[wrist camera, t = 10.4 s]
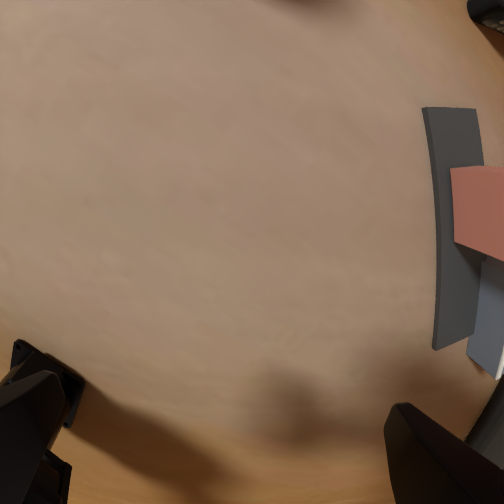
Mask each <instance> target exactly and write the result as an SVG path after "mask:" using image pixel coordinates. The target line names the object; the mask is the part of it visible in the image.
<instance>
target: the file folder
mask: <svg viewBox="0 0 504 504" xmlns="http://www.w3.org/2000/svg"><path fill="white" fill-rule="evenodd" d="M464 443H466V444H467V445H469V446H470V447H471V448H473V449H474V450H476V451H477V452H479V453H480V454H481V455H483V456H484V457H486V458H487V459H489V460H490V461H491V462H493V463H494V464H496V465H497V466H499V467H500V469H503V470H504V374H503V375H502V377H501V379H500V381H499V383H498V385H497V387H496V389H495V391H494V393H493V395H492V397H491V398H490V400H489V402H488V404H487V406H486V407H485V409H484V411H483V412H482V414H481V416H480V418H479V419H478V421H477V422H476V424H475V426H474V427H473V429H472V430H471V432H470V434H469V435H468V437H467V438H466V440H465V441H464Z"/></svg>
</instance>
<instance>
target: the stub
mask: <svg viewBox="0 0 504 504" xmlns="http://www.w3.org/2000/svg"><path fill="white" fill-rule="evenodd" d="M450 173H451V184H452V197H453V214H454V242H457V243H459V244H462V245H465V246H467V247H470V248H472V249H475V250H477V251H480V252H482V253H485V254H487V255H490V256H492V257H495V258H497V259H499V260H502V261H504V167H492V166H469V167H459V168H450Z"/></svg>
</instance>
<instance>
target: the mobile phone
mask: <svg viewBox="0 0 504 504" xmlns="http://www.w3.org/2000/svg"><path fill="white" fill-rule="evenodd" d="M467 9H468V13H469V15H470V17H471V19H473V20H474V21H475V22H477V23H480V24H483V25H485V26H487V27H490V28H492V29H494V30H496V31H499V32H501V33H503V34H504V0H468V2H467Z"/></svg>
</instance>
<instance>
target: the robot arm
mask: <svg viewBox="0 0 504 504" xmlns="http://www.w3.org/2000/svg"><path fill="white" fill-rule="evenodd" d="M19 345H20V346H19ZM77 383H78V384H77ZM79 384H80V385H79ZM84 388H85V382H84V381H83V380H82V379H81V378H79V377H78V376H76V375H74V374H73V373H71V372H69V371H68V370H66V369H64V368H63V367H61V366H59V365H58V364H56V363H55V362H53V361H52V360H50V359H49V358H47V357H45V356H44V355H42V354H41V353H39V352H38V351H37V350H35V349H34V348H32V347H31V346H29V345H28V344H26V343H25V342H24V341H22V340H20V339H17V340H16V341H15V342H14V345H13V352H12V359H11V367H10V372H9V373H8V374H7V375H6V376H5V377H4V378H3V380H2V381H1V382H0V504H67V500H68V492H69V484H70V477H71V471H72V466H71V465H70V464H68V463H67V462H64V461H63V460H61V459H60V458H59V457H57V456H56V455H55V454H54V453H52V452H51V451H50V450H51V448H52V446H53V444H54V442H55V440H56V438H57V436H58V434H59V432H60V430H61V428H62V426H63V427H65V428H70V427H71V425H72V423H73V420H74V417H75V414H76V411H77V408H78V405H79V402H80V399H81V396H82V394H83V391H84ZM384 438H385V444H386V452H387V459H388V467H389V475H390V481H391V485H392V490H393V494H394V498H395V502H396V504H504V470H503V469H500V467H499V466H497V465H496V464H494V463H493V462H491V461H490V460H489V459H487V458H486V457H484V456H483V455H481V454H480V453H479V452H477V451H476V450H474V449H473V448H471V447H470V446H469V445H467V444H466V443H464V442H463V441H462V440H460V439H459V438H457V437H456V436H455V435H453V434H452V433H450V432H449V431H448V430H446V429H445V428H443V427H442V426H441V425H439V424H438V423H437V422H435V421H434V420H432V419H431V418H430V417H428V416H427V415H426V414H424V413H423V412H421V411H420V410H419V409H417V408H416V407H415V406H413V405H412V404H410V403H408V402H404V403H396V404H394V405H393V406H392V408H391V411H390V413H389V415H388V418H387V420H386V423H385V425H384Z"/></svg>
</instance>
